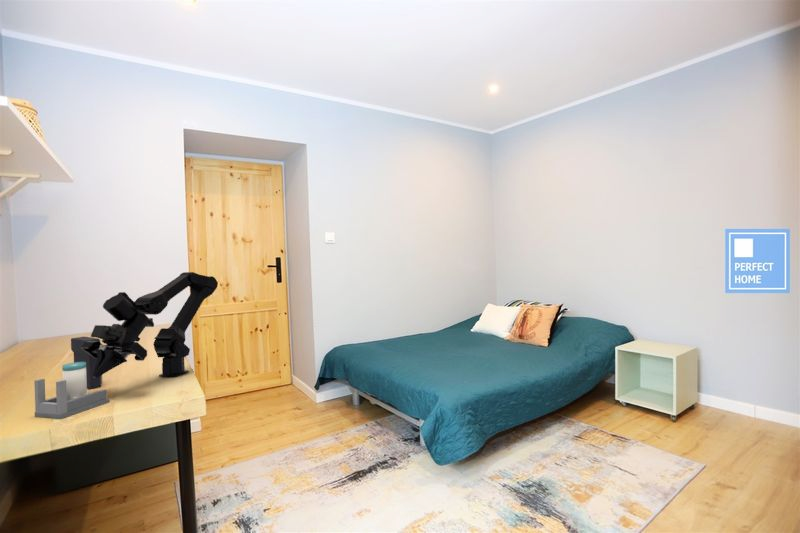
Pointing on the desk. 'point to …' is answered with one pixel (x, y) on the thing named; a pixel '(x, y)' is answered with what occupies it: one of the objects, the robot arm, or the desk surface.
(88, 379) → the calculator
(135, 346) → the robot arm
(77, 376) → the teal-lidded white jar
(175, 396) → the desk surface
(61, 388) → the mount
